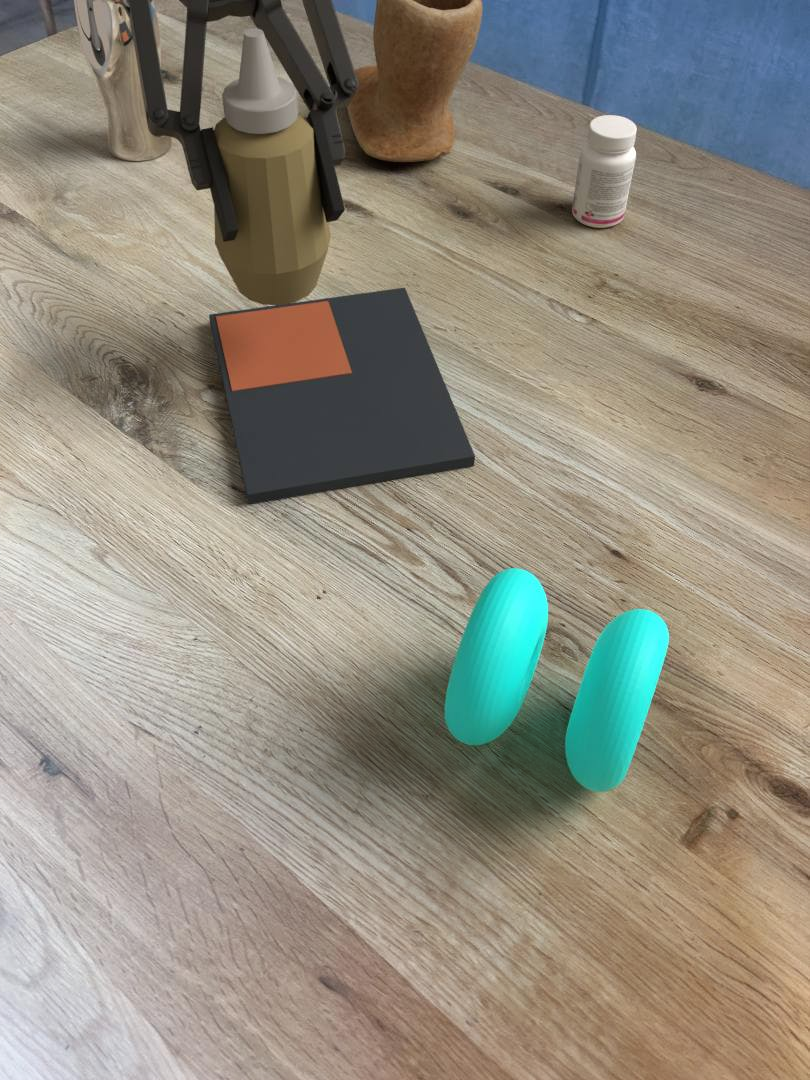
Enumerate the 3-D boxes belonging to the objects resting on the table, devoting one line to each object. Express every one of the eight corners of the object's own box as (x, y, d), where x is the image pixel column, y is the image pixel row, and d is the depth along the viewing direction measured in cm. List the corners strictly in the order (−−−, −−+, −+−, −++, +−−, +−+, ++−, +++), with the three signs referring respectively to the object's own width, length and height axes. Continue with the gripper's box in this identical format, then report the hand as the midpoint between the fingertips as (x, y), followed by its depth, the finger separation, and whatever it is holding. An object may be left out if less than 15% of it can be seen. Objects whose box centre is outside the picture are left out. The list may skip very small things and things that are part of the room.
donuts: (492, 632, 65) (507, 524, 57) (651, 686, 62) (689, 582, 55) (432, 766, 59) (440, 666, 51) (606, 832, 56) (641, 737, 49)
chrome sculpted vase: (170, 122, 104) (143, -39, 93) (183, 157, 100) (157, -7, 89) (99, 133, 103) (63, -30, 92) (109, 169, 99) (73, 3, 87)
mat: (210, 324, 84) (208, 313, 83) (404, 297, 87) (405, 286, 86) (248, 504, 71) (246, 493, 70) (474, 466, 74) (475, 455, 73)
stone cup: (482, 168, 100) (495, 4, 88) (357, 175, 99) (354, 10, 87) (455, 91, 110) (464, -65, 98) (341, 97, 108) (337, -61, 97)
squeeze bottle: (197, 288, 76) (156, 37, 62) (273, 237, 80) (250, -9, 67) (281, 332, 73) (258, 78, 59) (355, 277, 77) (348, 28, 63)
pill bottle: (635, 218, 95) (653, 129, 88) (597, 235, 93) (612, 146, 86) (598, 194, 97) (613, 106, 91) (560, 211, 95) (573, 122, 89)
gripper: (329, -121, 73) (407, 213, 75) (42, -89, 68) (136, 266, 70) (351, -189, 65) (437, 184, 68) (32, -158, 61) (137, 240, 63)
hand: (283, 225), depth 69 cm, fingers closed on squeeze bottle, 6 cm apart
